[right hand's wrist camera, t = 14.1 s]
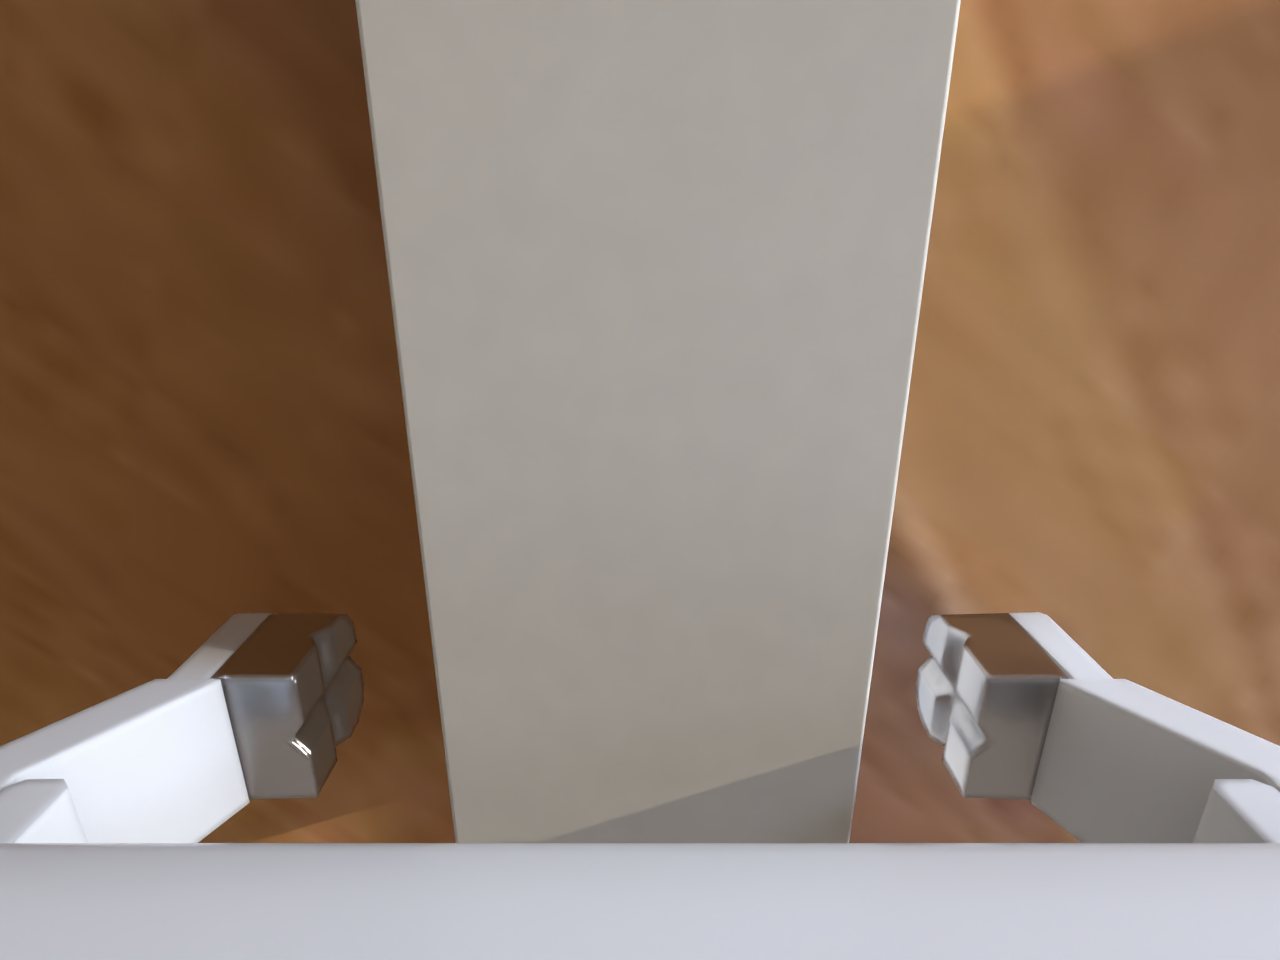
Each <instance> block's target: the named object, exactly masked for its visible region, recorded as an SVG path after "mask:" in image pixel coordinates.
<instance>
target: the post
mask: <svg viewBox="0 0 1280 960" xmlns="http://www.w3.org/2000/svg"><path fill="white" fill-rule="evenodd" d="M355 2H356V10H357V19H358V27H359V35H360V44H361V52H362V61H363V69H364V77H365V86H366V94H367V103H368V111H369V119H370V128H371V136H372V145H373V153H374V161H375V170H376V178H377V187H378V195H379V204H380V212H381V220H382V229H383V237H384V246H385V254H386V262H387V271H388V279H389V288H390V296H391V304H392V313H393V321H394V330H395V338H396V346H397V355H398V363H399V372H400V380H401V388H402V397H403V405H404V414H405V422H406V430H407V439H408V447H409V456H410V464H411V472H412V481H413V489H414V498H415V506H416V514H417V523H418V531H419V540H420V548H421V556H422V565H423V573H424V582H425V590H426V598H427V607H428V615H429V624H430V632H431V640H432V649H433V657H434V666H435V674H436V682H437V691H438V699H439V708H440V716H441V724H442V733H443V741H444V750H445V758H446V767H447V775H448V783H449V792H450V800H451V809H452V817H453V825H454V834H455V842H456V843H849V841H850V833H851V826H852V818H853V811H854V803H855V796H856V788H857V780H858V773H859V765H860V758H861V750H862V743H863V735H864V728H865V720H866V712H867V705H868V697H869V690H870V682H871V675H872V667H873V660H874V652H875V644H876V637H877V629H878V622H879V614H880V607H881V599H882V592H883V584H884V576H885V569H886V561H887V554H888V546H889V539H890V531H891V524H892V516H893V508H894V501H895V493H896V486H897V478H898V471H899V463H900V456H901V448H902V440H903V433H904V425H905V418H906V410H907V403H908V395H909V388H910V380H911V372H912V365H913V357H914V350H915V342H916V335H917V327H918V320H919V312H920V304H921V297H922V289H923V282H924V274H925V267H926V259H927V252H928V244H929V237H930V229H931V221H932V214H933V206H934V199H935V191H936V184H937V176H938V169H939V161H940V153H941V146H942V138H943V131H944V123H945V116H946V108H947V101H948V93H949V85H950V78H951V70H952V63H953V55H954V48H955V40H956V33H957V25H958V17H959V10H960V2H961V0H355Z"/></svg>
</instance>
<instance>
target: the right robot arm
mask: <svg viewBox="0 0 1280 960" xmlns="http://www.w3.org/2000/svg"><path fill="white" fill-rule="evenodd" d="M356 643H357V639H356V634H355V629H354V624H353V621H352V620H351V618H350V617H349V616H348V615H347V614H307V613H273V612H264V613H240V614H234V615H232V616H231V617H230V618H229V619H228V620H227V621H226V622H225V623H224V624H223V625H222V626H221V627H220V628H219V629H218V630H217V631H216V632H215V633H214V634H213V635H212V636H211V637H210V638H209V639H208V640H207V641H206V642H205V643H204V644H202V645H201V646H200V647H199V648H198V649H197V650H196V651H195V652H194V653H193V654H192V655H191V656H190V657H189V658H188V659H187V660H186V661H185V662H184V663H183V664H182V665H181V666H180V667H179V668H178V669H177V670H176V671H175V672H174V673H173V674H171V675H170V676H169V677H168V678H167V679H154V680H151V681H149V682H147V683H145V684H142V685H140V686H138V687H135V688H133V689H131V690H128V691H126V692H124V693H121V694H119V695H117V696H115V697H112V698H110V699H108V700H105V701H103V702H101V703H98V704H96V705H94V706H92V707H89V708H87V709H85V710H82V711H80V712H78V713H75V714H73V715H71V716H68V717H66V718H64V719H62V720H59V721H57V722H55V723H52V724H50V725H48V726H45V727H43V728H41V729H38V730H36V731H34V732H32V733H29V734H27V735H25V736H22V737H20V738H18V739H15V740H13V741H11V742H9V743H6V744H4V745H2V746H0V960H1280V746H1278V745H1276V744H1273V743H1271V742H1269V741H1266V740H1264V739H1262V738H1260V737H1257V736H1255V735H1253V734H1250V733H1248V732H1246V731H1243V730H1241V729H1239V728H1237V727H1234V726H1232V725H1230V724H1227V723H1225V722H1223V721H1221V720H1218V719H1216V718H1214V717H1211V716H1209V715H1207V714H1204V713H1202V712H1200V711H1198V710H1195V709H1193V708H1191V707H1188V706H1186V705H1184V704H1181V703H1179V702H1177V701H1175V700H1172V699H1170V698H1168V697H1165V696H1163V695H1161V694H1158V693H1156V692H1154V691H1152V690H1149V689H1147V688H1145V687H1142V686H1140V685H1138V684H1135V683H1133V682H1131V681H1129V680H1126V679H1113V678H1112V677H1111V676H1110V675H1109V674H1108V673H1107V672H1105V671H1104V670H1103V669H1102V668H1101V667H1100V666H1099V665H1098V664H1097V663H1096V662H1095V661H1094V660H1093V659H1092V658H1091V657H1090V656H1089V655H1088V654H1087V653H1086V652H1085V651H1084V650H1083V649H1082V648H1081V647H1080V646H1079V645H1078V644H1077V643H1076V642H1075V641H1074V640H1073V639H1071V638H1070V637H1069V636H1068V635H1067V634H1066V633H1065V632H1064V631H1063V630H1062V629H1061V628H1060V627H1059V626H1058V625H1057V624H1056V623H1055V622H1054V621H1053V620H1052V619H1051V618H1050V617H1049V616H1048V615H1045V614H1042V613H1039V612H1028V613H997V614H957V615H933V616H930V618H929V620H928V622H927V624H926V627H925V632H924V638H923V643H924V644H925V646H926V647H927V649H928V650H929V652H930V654H931V656H930V658H929V659H928V660H927V661H926V662H925V663H924V664H923V665H922V666H921V667H920V668H919V669H918V677H917V686H916V694H917V705H918V711H919V714H920V717H921V721H922V724H923V726H924V727H925V729H926V731H927V733H928V735H929V737H931V738H932V739H934V740H935V741H937V742H938V743H940V744H942V745H943V746H945V748H944V754H943V759H942V760H943V762H944V764H945V766H946V767H947V769H948V771H949V773H950V774H951V776H952V778H953V780H954V781H955V783H956V785H957V787H958V789H959V790H960V792H961V794H962V796H963V797H965V798H1002V799H1031V801H1030V803H1032V804H1033V805H1034V806H1036V807H1037V808H1038V809H1039V810H1041V811H1042V812H1043V813H1045V814H1046V815H1047V816H1048V817H1050V818H1051V819H1052V820H1054V821H1055V822H1056V823H1057V824H1059V825H1060V826H1061V827H1063V828H1064V829H1065V830H1067V831H1068V832H1069V833H1070V834H1072V835H1073V836H1074V837H1076V838H1077V839H1078V840H1079V841H1081V842H1082V843H198V842H200V841H201V840H202V839H203V838H205V837H206V836H207V835H209V834H210V833H211V832H212V831H214V830H215V829H216V828H218V827H219V826H220V825H221V824H223V823H224V822H225V821H227V820H228V819H229V818H231V817H232V816H233V815H234V814H236V813H237V812H238V811H240V810H241V809H242V808H243V807H245V806H246V805H247V804H249V802H250V801H249V799H277V798H312V797H317V796H318V794H319V792H320V790H321V789H322V787H323V785H324V783H325V782H326V780H327V778H328V776H329V774H330V773H331V771H332V769H333V767H334V766H335V764H336V762H337V760H338V759H337V754H336V748H335V746H337V745H338V744H340V743H342V742H343V741H345V740H346V739H348V738H349V737H351V735H352V733H353V731H354V729H355V727H356V725H357V723H358V722H359V717H360V713H361V709H362V705H363V694H364V683H363V676H362V669H361V668H360V667H359V666H358V665H357V664H356V663H355V662H354V661H353V660H352V659H351V658H350V656H349V654H350V652H351V650H352V649H353V647H354V646H355V644H356Z"/></svg>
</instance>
